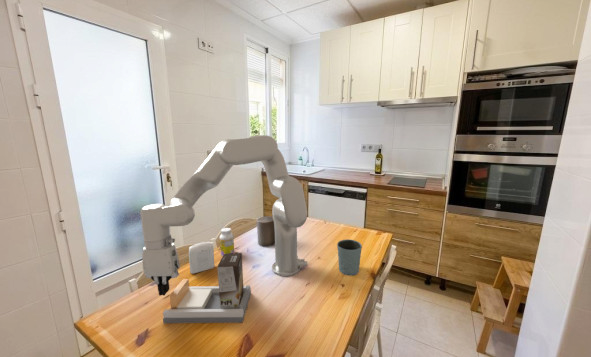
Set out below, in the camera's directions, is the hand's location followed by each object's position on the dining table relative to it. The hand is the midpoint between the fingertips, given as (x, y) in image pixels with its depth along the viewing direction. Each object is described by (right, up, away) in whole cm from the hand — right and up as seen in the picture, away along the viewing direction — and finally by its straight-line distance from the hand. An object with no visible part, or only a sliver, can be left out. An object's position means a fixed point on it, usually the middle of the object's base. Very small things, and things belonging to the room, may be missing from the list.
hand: (164, 292), depth 81 cm
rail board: (+15, -5, +1) cm, 16 cm away
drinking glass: (+68, -1, +22) cm, 71 cm away
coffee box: (+23, -4, +1) cm, 23 cm away
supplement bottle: (+11, +1, +38) cm, 40 cm away
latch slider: (+9, -4, +1) cm, 10 cm away
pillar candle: (+29, +3, +50) cm, 58 cm away
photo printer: (+4, -2, +25) cm, 25 cm away
